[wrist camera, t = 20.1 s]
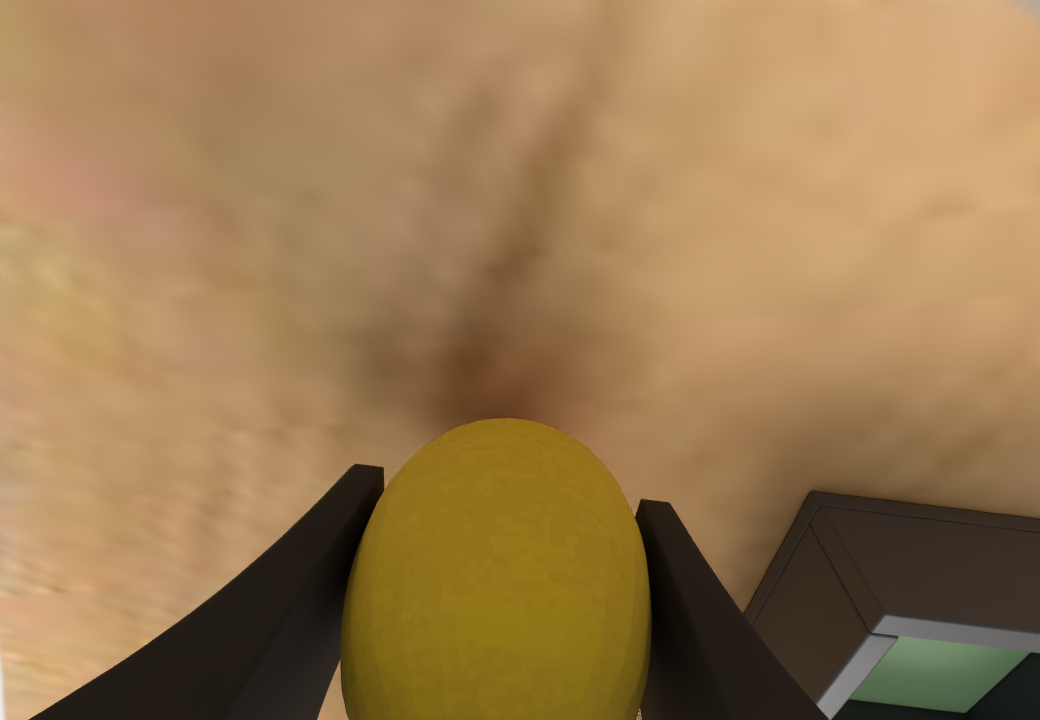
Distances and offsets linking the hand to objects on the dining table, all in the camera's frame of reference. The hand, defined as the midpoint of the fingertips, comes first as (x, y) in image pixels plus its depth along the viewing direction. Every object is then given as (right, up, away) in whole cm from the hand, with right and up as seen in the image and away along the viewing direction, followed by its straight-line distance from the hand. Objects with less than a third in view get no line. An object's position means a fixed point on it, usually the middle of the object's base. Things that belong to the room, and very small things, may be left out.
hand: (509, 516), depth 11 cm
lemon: (0, +1, +2) cm, 3 cm away
